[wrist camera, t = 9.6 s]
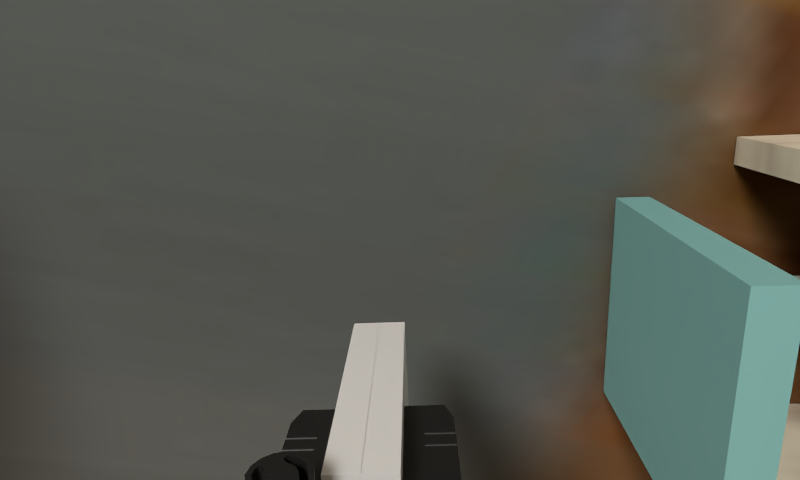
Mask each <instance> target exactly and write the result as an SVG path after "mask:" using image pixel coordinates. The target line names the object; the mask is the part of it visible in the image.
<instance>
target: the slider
mask: <svg viewBox="0 0 800 480" xmlns="http://www.w3.org/2000/svg"><path fill="white" fill-rule="evenodd" d="M799 344H800V276H792V275H790V274H789V273H787V272H785V271H783V270H781V269H780V268H778V267H776V266H774V265H772V264H771V263H769V262H767V261H765V260H763V259H761V258H760V257H758V256H756V255H754V254H752V253H751V252H749V251H747V250H745V249H743V248H742V247H740V246H738V245H736V244H734V243H732V242H731V241H729V240H727V239H725V238H723V237H722V236H720V235H718V234H716V233H714V232H713V231H711V230H709V229H707V228H705V227H703V226H702V225H700V224H698V223H696V222H694V221H693V220H691V219H689V218H687V217H685V216H684V215H682V214H680V213H678V212H676V211H674V210H673V209H671V208H669V207H667V206H665V205H664V204H662V203H660V202H658V201H656V200H655V199H653V198H651V197H627V198H616V207H615V222H614V238H613V253H612V268H611V284H610V299H609V314H608V330H607V345H606V360H605V375H604V393H605V395H606V397H607V398H608V400H609V402H610V404H611V406H612V407H613V409H614V411H615V413H616V415H617V416H618V418H619V420H620V422H621V424H622V425H623V427H624V429H625V431H626V433H627V434H628V436H629V438H630V440H631V442H632V443H633V445H634V447H635V449H636V451H637V453H638V454H639V456H640V458H641V460H642V462H643V463H644V465H645V467H646V469H647V471H648V472H649V474H650V476H651V478H652V480H776V479H777V473H778V467H779V461H780V455H781V450H782V444H783V438H784V432H785V426H786V420H787V414H788V408H789V403H790V397H791V391H792V385H793V379H794V373H795V367H796V362H797V356H798V350H799Z"/></svg>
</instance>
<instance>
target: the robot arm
mask: <svg viewBox="0 0 800 480" xmlns="http://www.w3.org/2000/svg"><path fill="white" fill-rule="evenodd" d="M245 480H461V473H460V465H459V457H458V449H457V440H456V434H455V424H454V417H453V416H452V415H451V413H450V412H449V411H448V410H447V408H446V407H445V406H444V405H430V406H408V387H407V364H406V342H405V322H391V323H359V324H354V328H353V333H352V337H351V342H350V346H349V351H348V355H347V360H346V364H345V369H344V373H343V377H342V382H341V386H340V391H339V395H338V400H337V404H336V409H335V410H303V411H302V412H301V413H300V415H299V416H298V417H297V418H296V419H295V420H294V421H293V422H292V423H291V425H290V428H289V431H288V434H287V437H286V440H285V443H284V446H283V449H282V452H279V453H273V454H271V455H268V456H266V457H263V458H261V459H260V460H258V461H257V462H256V463H254V464H253V465H252V466H251V467H250V468H249V469H248V471H247V472H246V474H245Z"/></svg>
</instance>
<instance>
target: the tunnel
mask: <svg viewBox="0 0 800 480" xmlns="http://www.w3.org/2000/svg"><path fill="white" fill-rule="evenodd" d="M734 165H738V166H741V167H744V168H748V169H751V170H755V171H758V172H761V173H765V174H768V175H772V176H775V177H778V178H782V179H785V180H789V181H792V182H795V183H799V184H800V134H795V135H769V136H742V137H737V142H736V150H735V158H734ZM776 480H800V404H789V408H788V414H787V420H786V426H785V432H784V438H783V444H782V450H781V455H780V461H779V467H778V473H777V479H776Z"/></svg>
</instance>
